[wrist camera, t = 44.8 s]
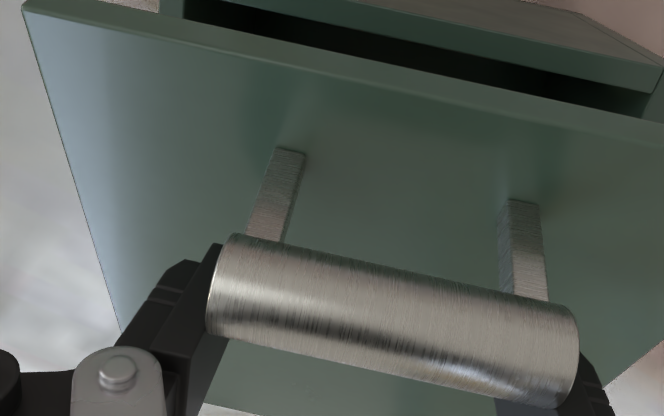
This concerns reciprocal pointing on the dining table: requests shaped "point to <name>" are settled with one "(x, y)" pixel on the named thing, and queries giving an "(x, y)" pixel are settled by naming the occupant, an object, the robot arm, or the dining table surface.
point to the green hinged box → (463, 44)
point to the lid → (358, 215)
